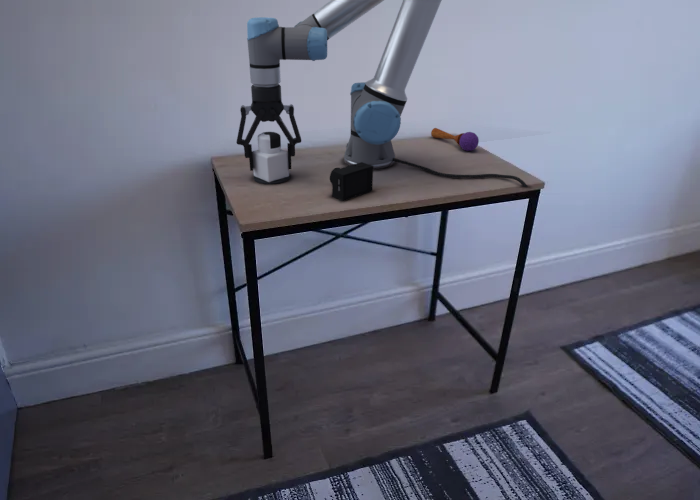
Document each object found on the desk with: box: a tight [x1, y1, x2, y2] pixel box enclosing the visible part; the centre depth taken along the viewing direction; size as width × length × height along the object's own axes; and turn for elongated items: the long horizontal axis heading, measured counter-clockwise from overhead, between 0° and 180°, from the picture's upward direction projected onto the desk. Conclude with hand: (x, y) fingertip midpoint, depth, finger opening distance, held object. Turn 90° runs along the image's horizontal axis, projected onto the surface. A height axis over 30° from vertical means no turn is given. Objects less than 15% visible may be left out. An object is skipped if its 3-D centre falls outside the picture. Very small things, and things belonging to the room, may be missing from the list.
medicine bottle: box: [252, 131, 290, 182], centre depth 142 cm, size 7×7×12 cm
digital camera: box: [329, 162, 374, 202], centre depth 134 cm, size 10×5×7 cm, turn 133°
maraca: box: [430, 127, 480, 152], centre depth 173 cm, size 6×6×20 cm
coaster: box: [253, 174, 291, 185], centre depth 145 cm, size 10×10×1 cm
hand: (270, 168), depth 144 cm, fingers closed on medicine bottle, 10 cm apart
